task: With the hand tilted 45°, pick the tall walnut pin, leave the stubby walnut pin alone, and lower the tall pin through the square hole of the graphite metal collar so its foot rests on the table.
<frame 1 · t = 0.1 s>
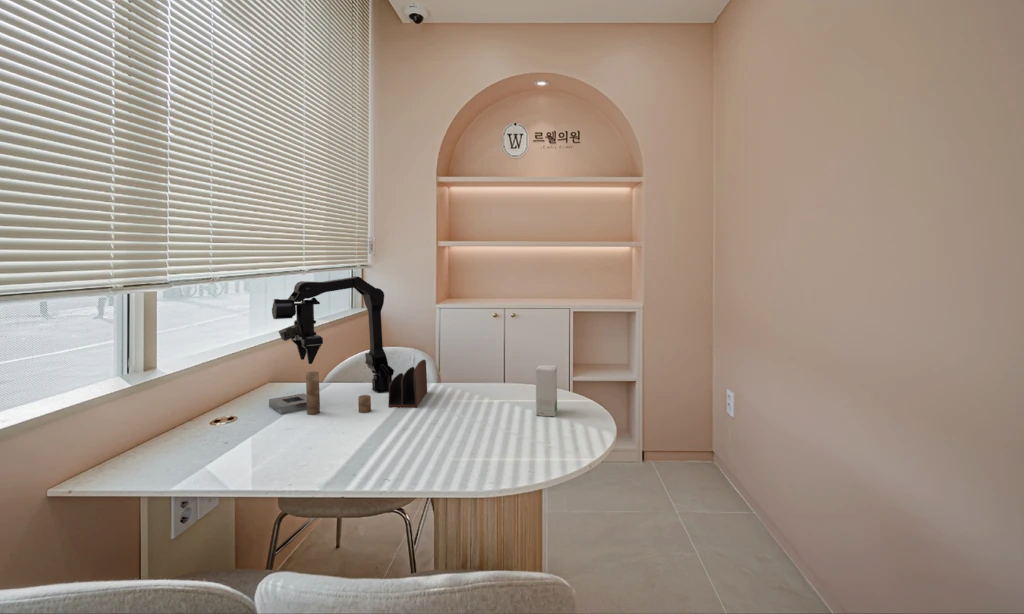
hand: (306, 361, 184), 15 cm above the table, tool pointing down, fingers open, 9 cm apart
hole collar: (293, 406, 179), on the table
letter holder: (408, 400, 189), on the table
tall pin: (313, 413, 173), on the table
stub pin: (364, 411, 175), on the table
skincare box: (546, 413, 174), on the table
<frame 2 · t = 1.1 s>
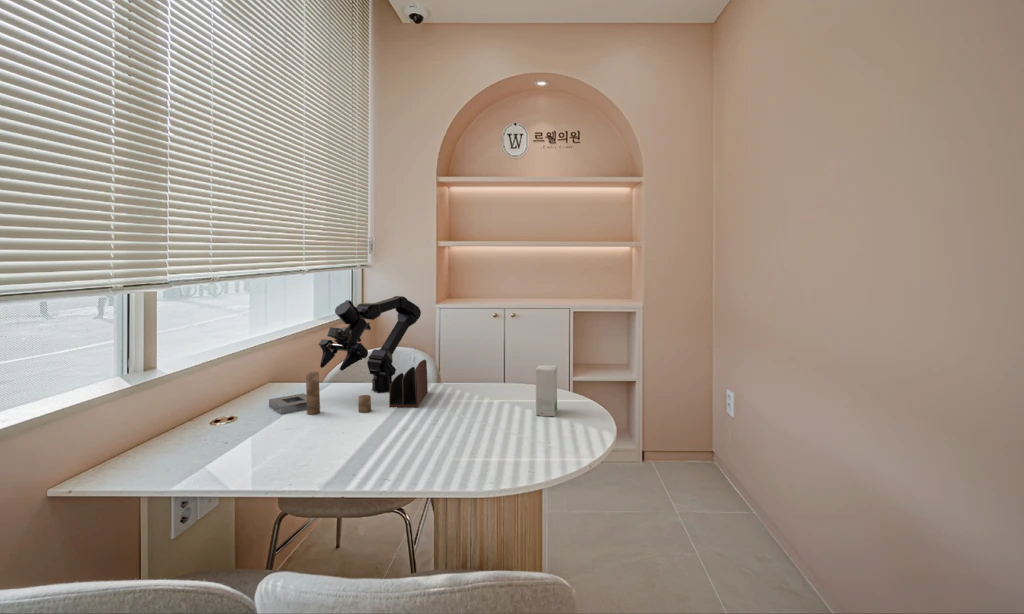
hand: (330, 368, 178), 13 cm above the table, tool tilted 45°, fingers open, 9 cm apart
nothing on the table moved.
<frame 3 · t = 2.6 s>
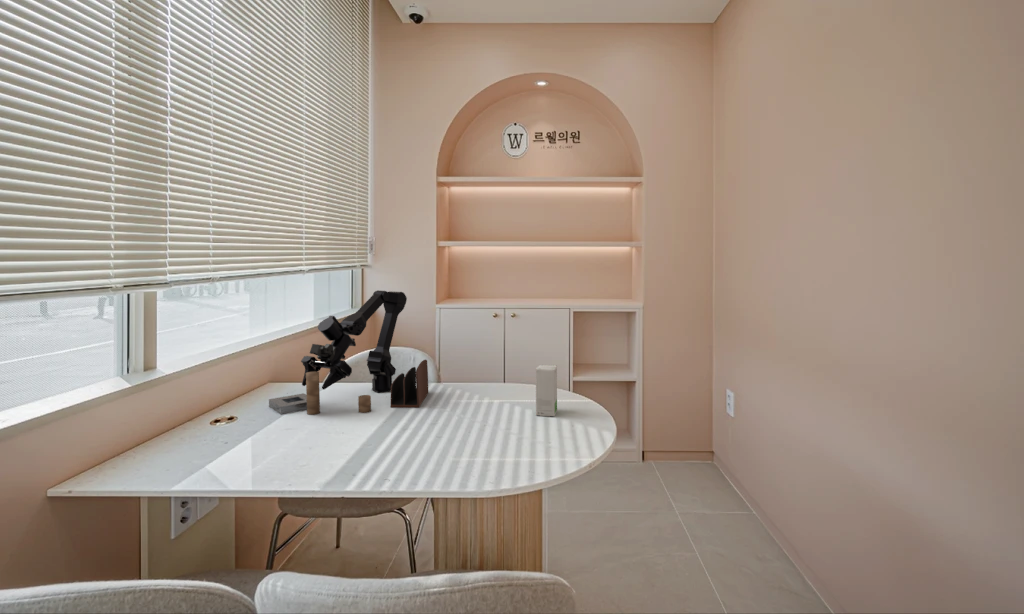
hand: (312, 387, 172), 9 cm above the table, tool tilted 45°, fingers open, 9 cm apart
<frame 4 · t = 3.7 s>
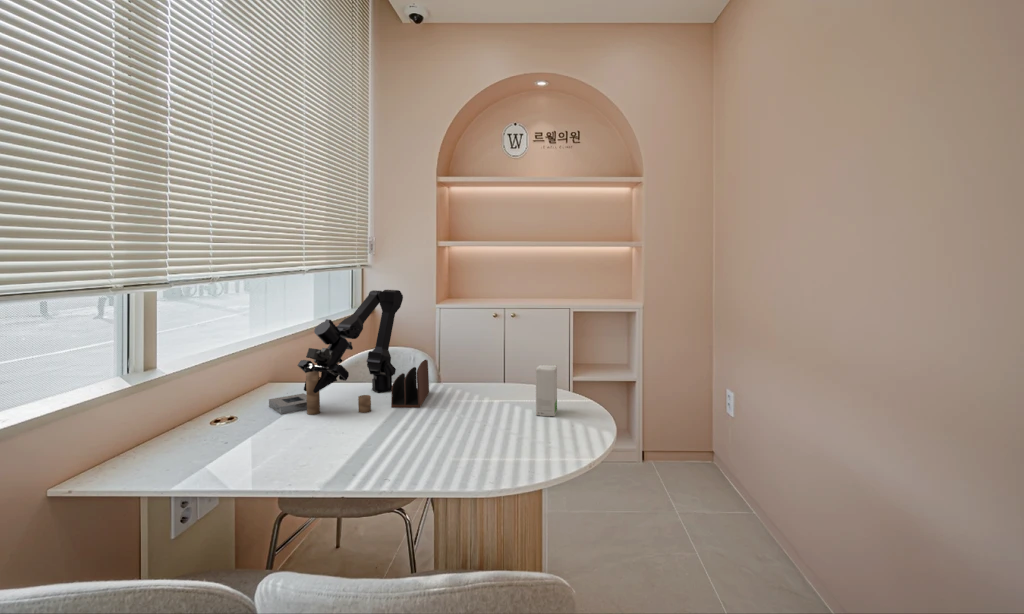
hand: (309, 391, 171), 8 cm above the table, tool tilted 45°, fingers closed on tall pin, 4 cm apart
tall pin: (313, 413, 173), on the table, touching gripper
everything else where it was.
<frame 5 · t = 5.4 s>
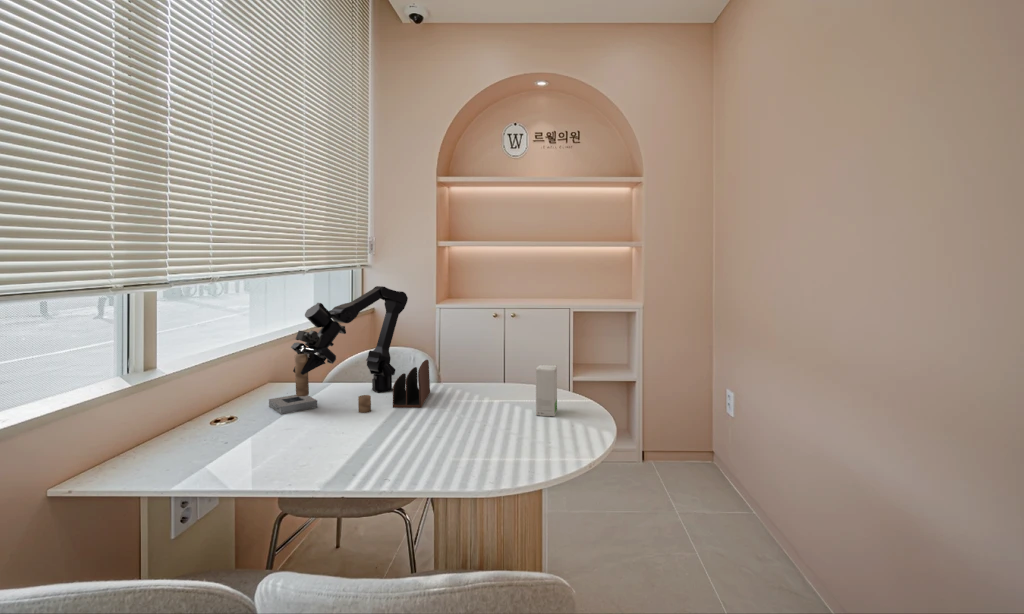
hand: (297, 373, 173), 13 cm above the table, tool tilted 45°, fingers closed on tall pin, 4 cm apart
tall pin: (302, 394, 175), point 5 cm above the table, touching gripper
when the fingers open (9 cm above the table, at t = 7.2 s): tall pin drops 1 cm, resting in hole collar.
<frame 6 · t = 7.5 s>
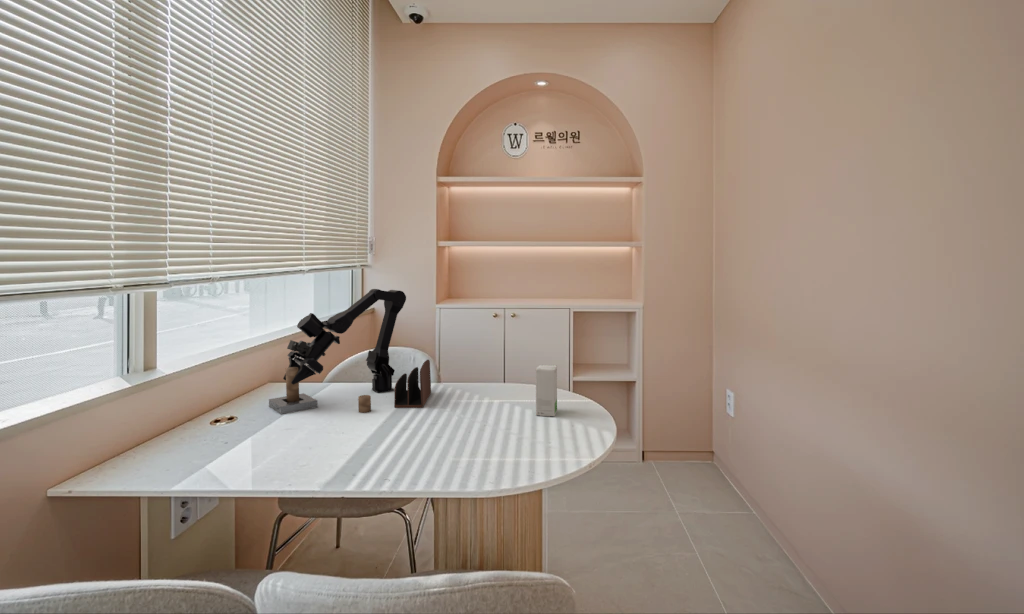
hand: (288, 381, 177), 9 cm above the table, tool tilted 45°, fingers open, 7 cm apart
tall pin: (293, 406, 179), resting in hole collar
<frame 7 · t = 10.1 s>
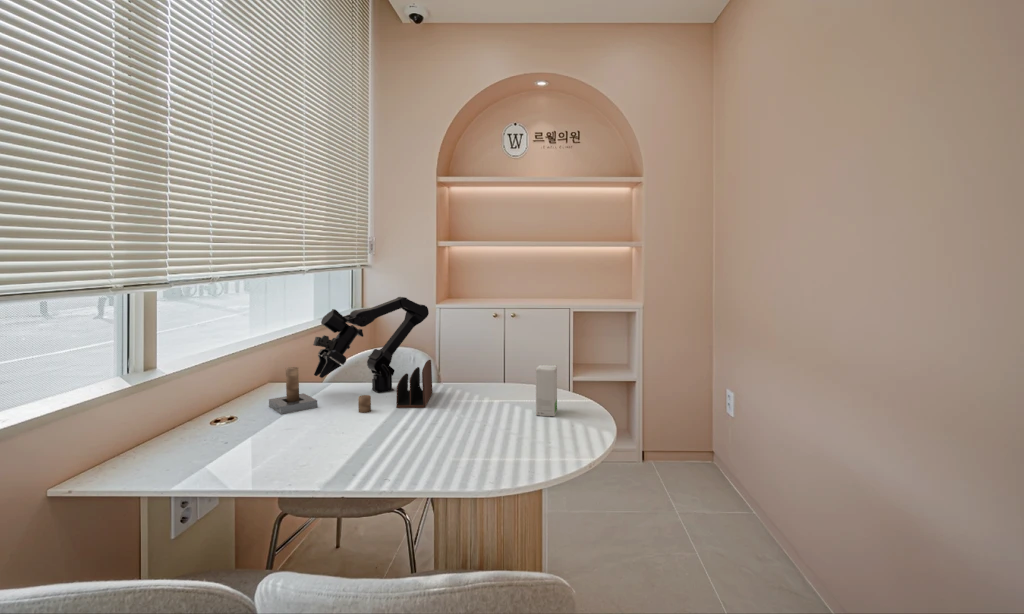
hand: (317, 376, 185), 9 cm above the table, tool tilted 40°, fingers open, 9 cm apart
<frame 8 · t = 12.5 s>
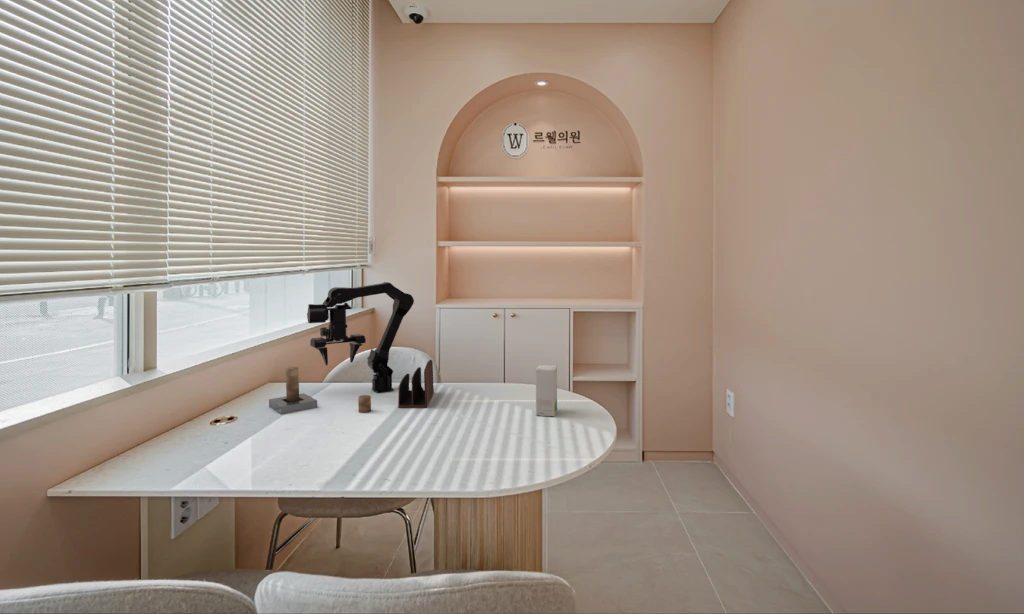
hand: (339, 363, 193), 12 cm above the table, tool pointing down, fingers open, 9 cm apart
at the end: tall pin 0.0 cm off-centre on the hole collar, point 0.0 cm above the hole collar's base; tall pin tilted 0°; stub pin moved 0.1 cm from its start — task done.
